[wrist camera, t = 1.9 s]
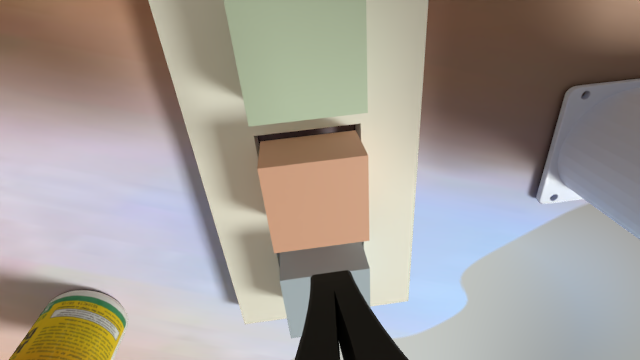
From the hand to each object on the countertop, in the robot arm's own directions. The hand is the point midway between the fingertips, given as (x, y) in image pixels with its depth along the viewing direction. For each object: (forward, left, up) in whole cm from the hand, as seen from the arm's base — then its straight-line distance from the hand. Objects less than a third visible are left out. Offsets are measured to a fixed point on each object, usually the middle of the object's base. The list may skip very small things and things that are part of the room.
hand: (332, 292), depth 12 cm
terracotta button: (0, 0, -8) cm, 8 cm away
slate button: (0, +7, -8) cm, 11 cm away
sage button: (0, -7, -8) cm, 11 cm away
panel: (0, 0, -10) cm, 10 cm away
